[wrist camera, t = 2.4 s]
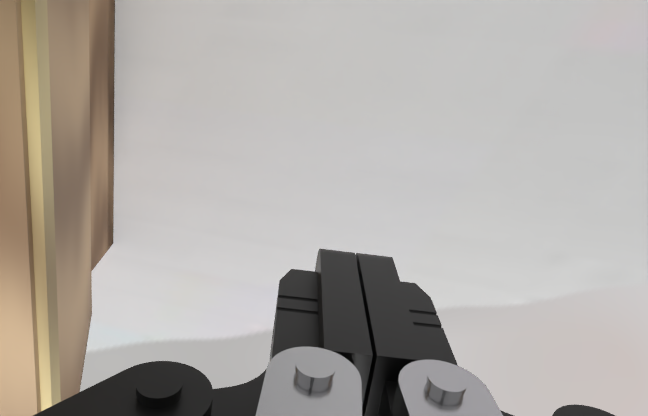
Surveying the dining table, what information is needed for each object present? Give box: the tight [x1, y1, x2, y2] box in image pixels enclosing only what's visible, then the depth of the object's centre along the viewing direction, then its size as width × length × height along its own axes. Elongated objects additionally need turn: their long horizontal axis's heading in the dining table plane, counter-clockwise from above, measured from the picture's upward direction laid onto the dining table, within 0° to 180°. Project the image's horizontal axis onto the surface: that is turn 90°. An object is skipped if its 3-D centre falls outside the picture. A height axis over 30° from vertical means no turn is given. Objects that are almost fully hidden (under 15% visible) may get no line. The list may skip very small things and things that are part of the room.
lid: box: [0, 0, 92, 416], centre depth 15 cm, size 17×12×1 cm
